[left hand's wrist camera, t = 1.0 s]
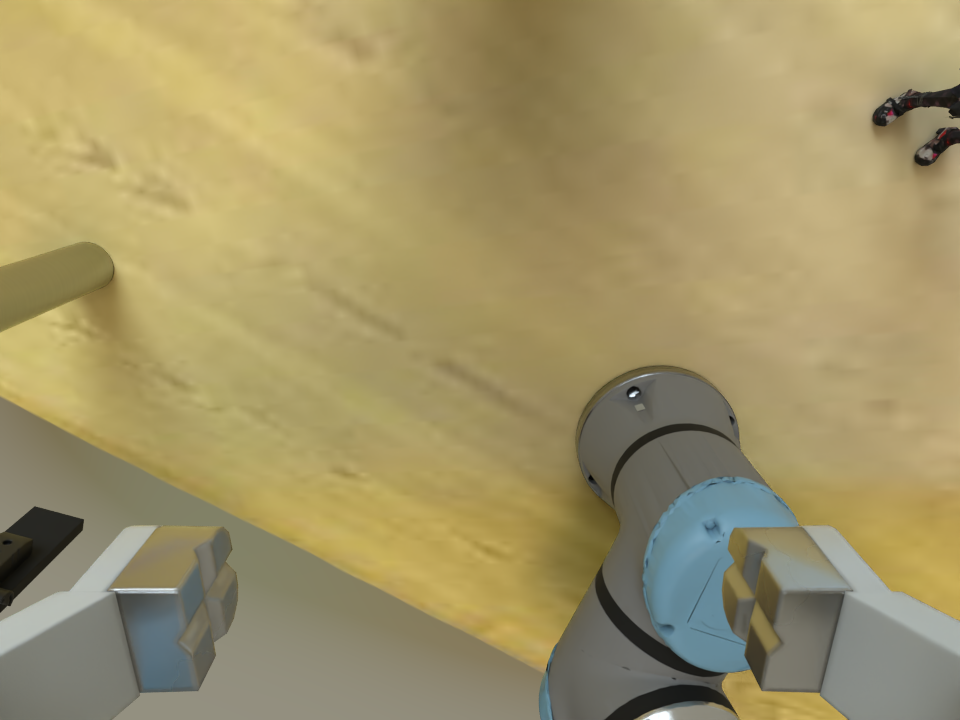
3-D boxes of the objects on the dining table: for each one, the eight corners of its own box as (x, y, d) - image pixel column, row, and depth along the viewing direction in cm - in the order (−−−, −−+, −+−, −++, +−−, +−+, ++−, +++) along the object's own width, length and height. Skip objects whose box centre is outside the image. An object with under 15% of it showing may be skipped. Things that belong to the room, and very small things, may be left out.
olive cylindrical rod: (93, 233, 56) (-88, 286, 38) (123, 274, 58) (-37, 344, 40) (56, 255, 57) (-138, 318, 39) (87, 296, 58) (-87, 374, 40)
